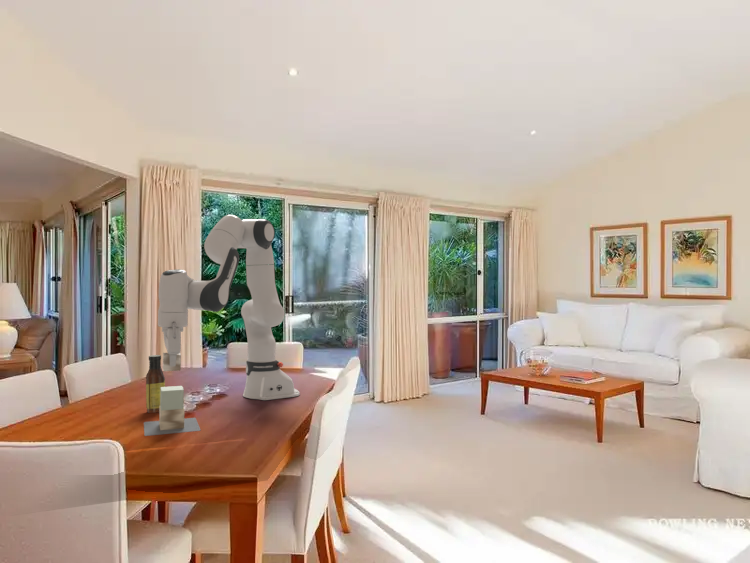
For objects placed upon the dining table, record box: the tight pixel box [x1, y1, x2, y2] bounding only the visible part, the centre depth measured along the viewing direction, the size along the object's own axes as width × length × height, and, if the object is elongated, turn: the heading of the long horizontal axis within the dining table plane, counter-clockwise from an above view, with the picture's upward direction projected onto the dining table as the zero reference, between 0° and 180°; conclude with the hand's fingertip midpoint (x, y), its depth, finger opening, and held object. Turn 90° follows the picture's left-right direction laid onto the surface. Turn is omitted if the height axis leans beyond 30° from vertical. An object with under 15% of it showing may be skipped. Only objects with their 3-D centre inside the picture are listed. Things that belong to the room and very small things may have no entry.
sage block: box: [160, 385, 185, 411], centre depth 171 cm, size 6×6×6 cm
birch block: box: [158, 406, 185, 430], centre depth 171 cm, size 7×7×6 cm
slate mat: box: [143, 417, 201, 437], centre depth 171 cm, size 16×16×1 cm
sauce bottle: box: [145, 354, 166, 414], centre depth 190 cm, size 7×6×20 cm
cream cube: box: [162, 352, 182, 372], centre depth 170 cm, size 5×5×5 cm
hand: (171, 364), depth 170 cm, fingers closed on cream cube, 5 cm apart
